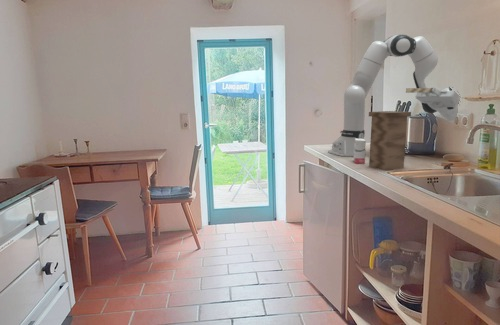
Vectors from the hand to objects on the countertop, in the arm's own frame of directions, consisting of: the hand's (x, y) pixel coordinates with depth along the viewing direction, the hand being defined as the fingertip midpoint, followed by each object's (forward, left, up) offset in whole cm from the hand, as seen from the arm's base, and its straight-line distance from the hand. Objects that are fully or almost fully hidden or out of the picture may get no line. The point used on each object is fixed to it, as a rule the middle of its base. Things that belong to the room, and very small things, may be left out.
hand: (428, 89), depth 175 cm
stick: (0, -6, -2) cm, 6 cm away
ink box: (-15, -30, -37) cm, 50 cm away
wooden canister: (+1, -29, -36) cm, 47 cm away
